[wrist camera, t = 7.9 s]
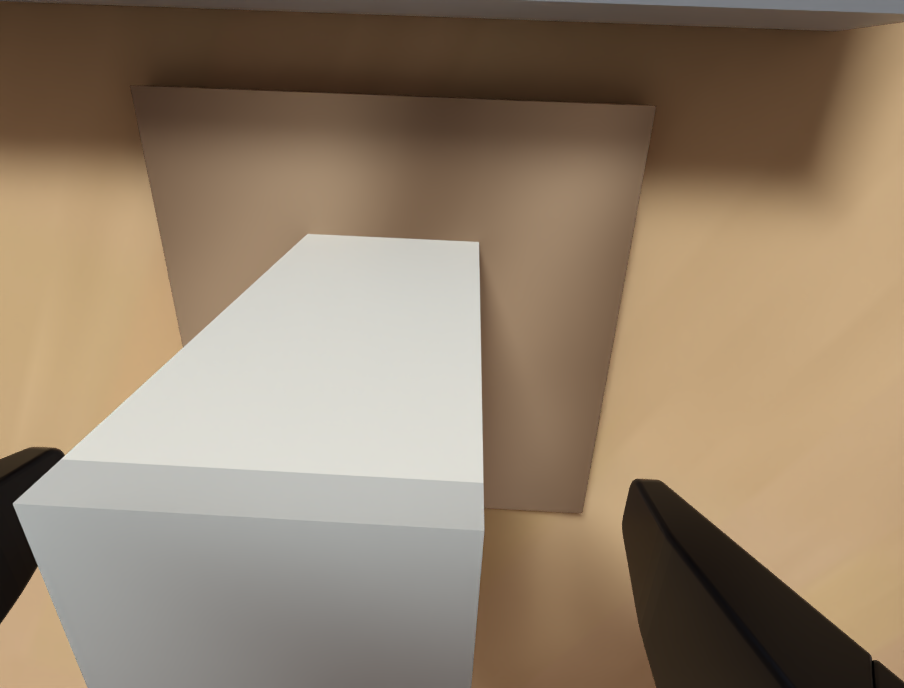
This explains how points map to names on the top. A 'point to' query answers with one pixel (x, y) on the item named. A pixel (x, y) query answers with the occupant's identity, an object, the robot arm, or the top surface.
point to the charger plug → (287, 487)
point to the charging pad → (424, 233)
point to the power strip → (585, 10)
